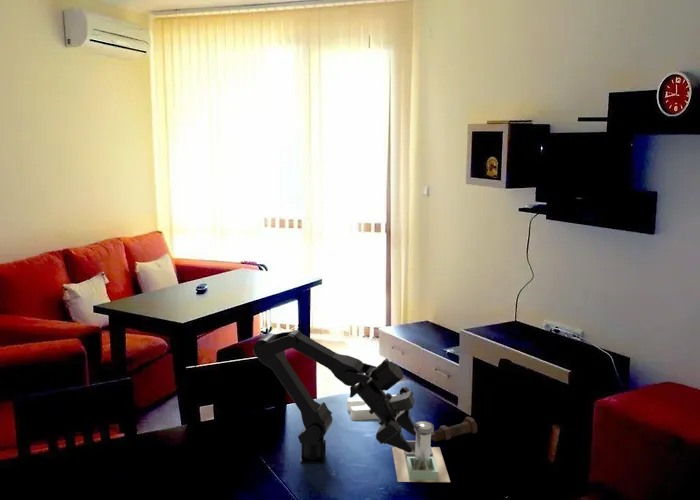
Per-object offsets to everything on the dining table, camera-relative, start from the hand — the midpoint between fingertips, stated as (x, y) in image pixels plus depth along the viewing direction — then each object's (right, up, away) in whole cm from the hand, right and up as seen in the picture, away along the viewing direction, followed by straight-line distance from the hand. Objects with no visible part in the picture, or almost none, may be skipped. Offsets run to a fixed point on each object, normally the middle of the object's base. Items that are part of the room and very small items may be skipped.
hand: (413, 443), depth 170 cm
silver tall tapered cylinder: (+2, -8, +1) cm, 9 cm away
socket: (+2, -9, +1) cm, 10 cm away
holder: (+2, -7, +10) cm, 13 cm away
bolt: (+14, -6, +23) cm, 27 cm away
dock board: (+2, -8, +6) cm, 10 cm away
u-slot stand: (-9, -2, +38) cm, 39 cm away
